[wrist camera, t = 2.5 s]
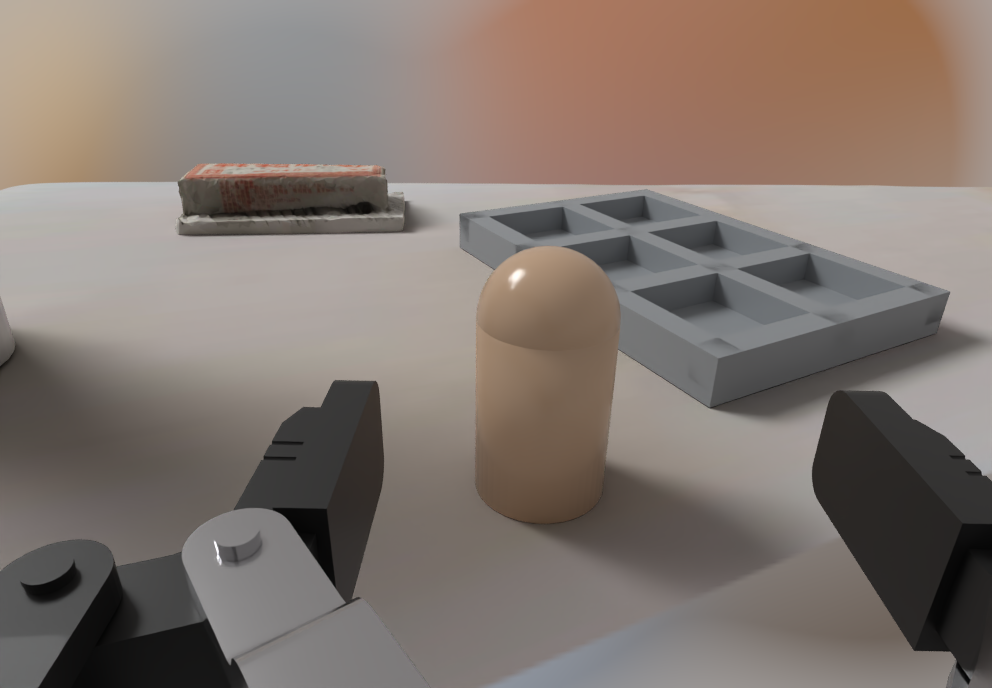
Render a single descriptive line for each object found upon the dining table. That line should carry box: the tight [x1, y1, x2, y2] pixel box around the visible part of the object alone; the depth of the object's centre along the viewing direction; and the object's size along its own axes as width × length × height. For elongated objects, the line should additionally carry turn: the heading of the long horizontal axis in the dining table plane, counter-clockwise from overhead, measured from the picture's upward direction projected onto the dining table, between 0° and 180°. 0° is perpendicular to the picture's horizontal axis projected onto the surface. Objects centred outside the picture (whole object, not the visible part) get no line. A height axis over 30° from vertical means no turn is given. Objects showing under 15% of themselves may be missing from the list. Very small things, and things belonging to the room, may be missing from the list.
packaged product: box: [175, 164, 405, 235], centre depth 58 cm, size 18×5×10 cm
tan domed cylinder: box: [475, 246, 621, 524], centre depth 25 cm, size 5×5×10 cm
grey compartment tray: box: [460, 189, 950, 408], centre depth 46 cm, size 26×18×3 cm
